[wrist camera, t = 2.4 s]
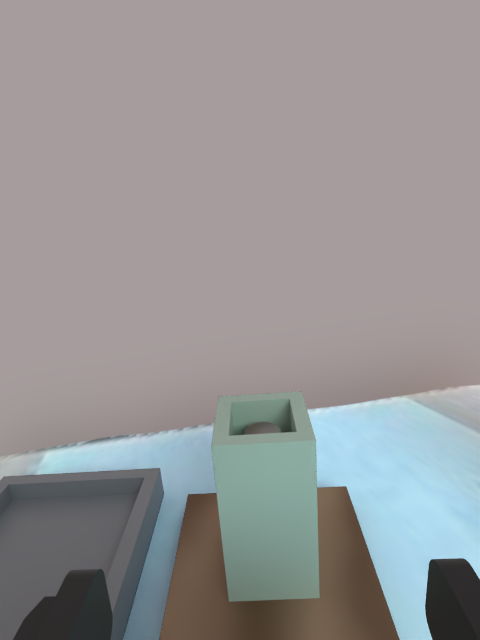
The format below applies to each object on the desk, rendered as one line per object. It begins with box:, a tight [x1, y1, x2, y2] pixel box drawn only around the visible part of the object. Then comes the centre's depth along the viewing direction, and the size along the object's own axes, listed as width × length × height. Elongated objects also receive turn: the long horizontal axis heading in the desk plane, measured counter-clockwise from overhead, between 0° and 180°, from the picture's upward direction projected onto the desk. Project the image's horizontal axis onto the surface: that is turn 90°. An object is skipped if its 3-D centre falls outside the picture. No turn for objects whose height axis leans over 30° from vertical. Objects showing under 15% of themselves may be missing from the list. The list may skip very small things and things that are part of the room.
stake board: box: [159, 422, 399, 640], centre depth 23 cm, size 12×12×10 cm
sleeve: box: [211, 392, 320, 602], centre depth 22 cm, size 5×5×10 cm
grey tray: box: [0, 468, 164, 640], centre depth 24 cm, size 13×16×2 cm
